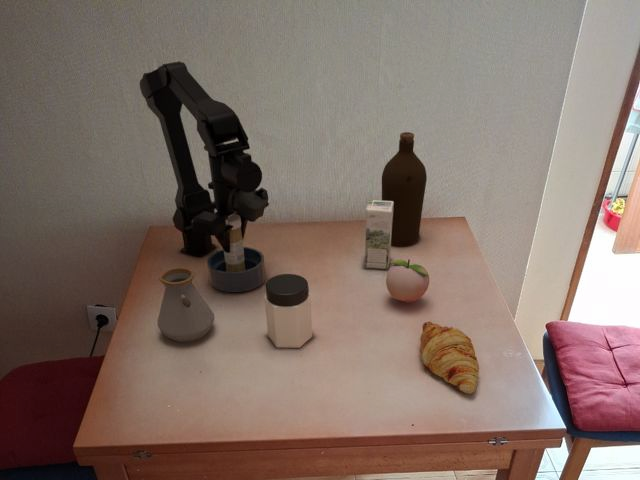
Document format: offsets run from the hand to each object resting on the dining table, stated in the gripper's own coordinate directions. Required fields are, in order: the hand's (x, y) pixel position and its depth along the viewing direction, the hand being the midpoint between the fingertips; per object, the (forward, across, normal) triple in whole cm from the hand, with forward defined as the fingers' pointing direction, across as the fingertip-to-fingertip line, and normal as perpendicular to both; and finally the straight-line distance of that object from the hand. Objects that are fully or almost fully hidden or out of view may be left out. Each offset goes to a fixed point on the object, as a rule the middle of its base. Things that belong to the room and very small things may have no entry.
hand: (234, 248), depth 136 cm
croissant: (+8, -8, -54) cm, 55 cm away
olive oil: (+8, +37, -24) cm, 45 cm away
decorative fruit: (+8, +9, -38) cm, 40 cm away
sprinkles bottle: (+6, 0, 0) cm, 7 cm away
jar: (+8, -14, -23) cm, 28 cm away
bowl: (+8, 0, 0) cm, 8 cm away
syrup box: (+8, +22, -25) cm, 34 cm away
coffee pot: (+8, -26, -7) cm, 28 cm away
